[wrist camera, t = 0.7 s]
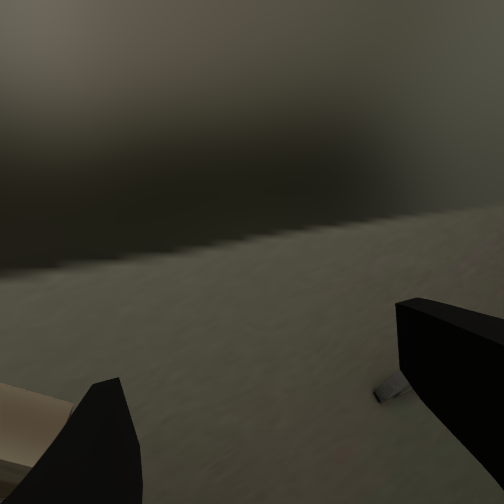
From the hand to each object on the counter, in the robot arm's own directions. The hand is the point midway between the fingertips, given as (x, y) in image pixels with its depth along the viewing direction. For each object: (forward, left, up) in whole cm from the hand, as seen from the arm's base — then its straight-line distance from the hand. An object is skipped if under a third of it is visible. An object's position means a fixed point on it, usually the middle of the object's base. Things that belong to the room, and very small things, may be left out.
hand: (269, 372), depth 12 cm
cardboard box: (+1, +7, -18) cm, 20 cm away
